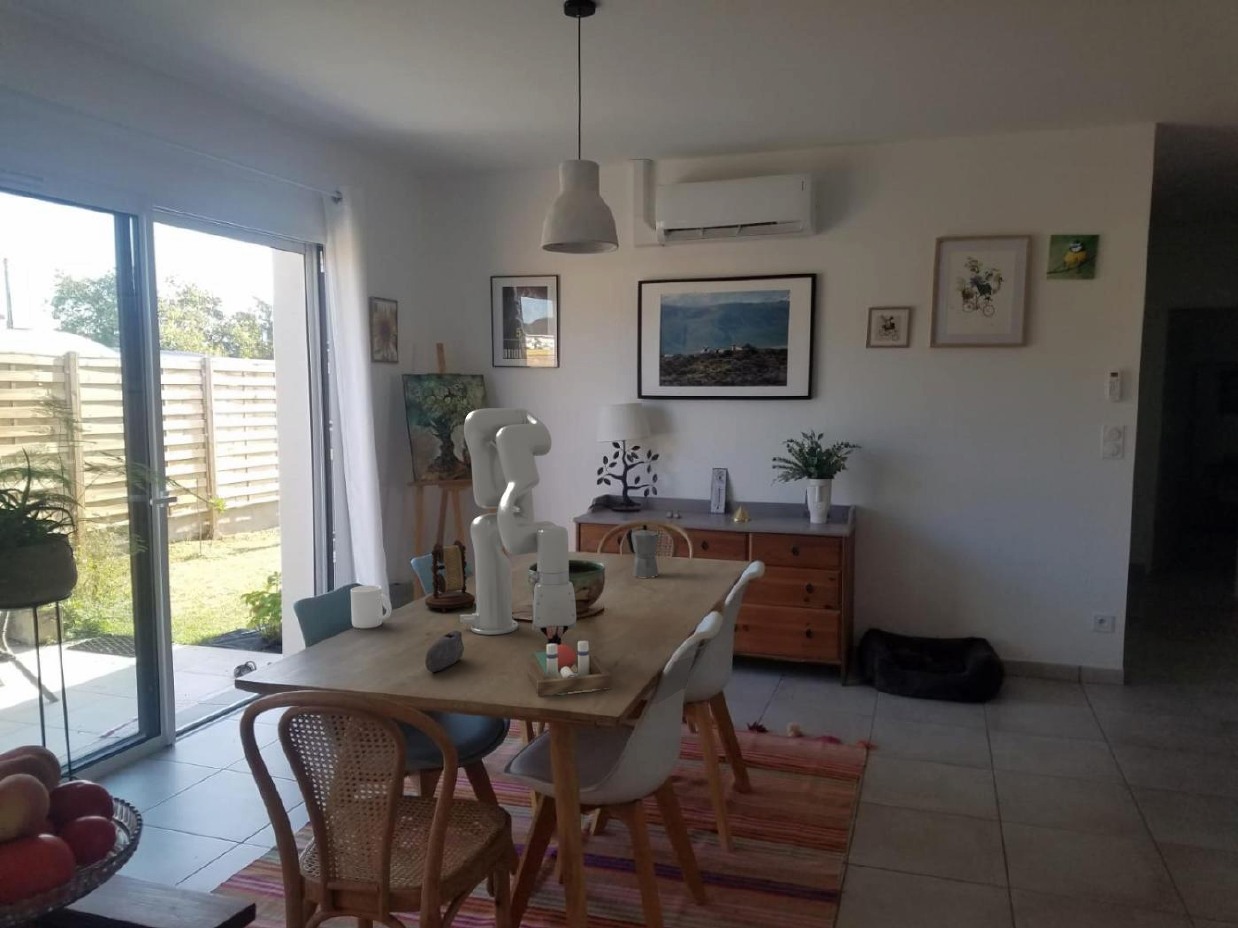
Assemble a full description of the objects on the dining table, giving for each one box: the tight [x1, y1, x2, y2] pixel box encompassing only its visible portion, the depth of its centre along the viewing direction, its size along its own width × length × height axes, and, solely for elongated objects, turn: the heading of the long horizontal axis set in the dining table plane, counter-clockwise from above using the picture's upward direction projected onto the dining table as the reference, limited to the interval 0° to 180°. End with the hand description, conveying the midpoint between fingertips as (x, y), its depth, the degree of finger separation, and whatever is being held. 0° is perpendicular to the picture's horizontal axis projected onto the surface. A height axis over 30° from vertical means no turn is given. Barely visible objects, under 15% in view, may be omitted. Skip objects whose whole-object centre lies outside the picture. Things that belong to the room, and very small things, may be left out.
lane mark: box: [534, 651, 578, 696], centre depth 191 cm, size 30×8×1 cm, turn 15°
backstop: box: [527, 655, 613, 697], centre depth 184 cm, size 16×14×3 cm
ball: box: [558, 643, 577, 671], centre depth 191 cm, size 6×6×6 cm
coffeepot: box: [626, 524, 661, 577], centre depth 290 cm, size 15×9×18 cm, turn 44°
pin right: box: [577, 640, 590, 676], centre depth 185 cm, size 2×2×8 cm
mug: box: [350, 584, 392, 629], centre depth 231 cm, size 12×8×10 cm
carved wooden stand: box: [424, 539, 476, 614], centre depth 250 cm, size 15×15×20 cm
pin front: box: [560, 666, 575, 678], centre depth 183 cm, size 2×2×8 cm
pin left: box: [546, 643, 558, 679], centre depth 183 cm, size 2×2×8 cm
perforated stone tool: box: [424, 630, 465, 673], centre depth 195 cm, size 15×5×7 cm, turn 161°
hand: (554, 652), depth 200 cm, fingers closed
